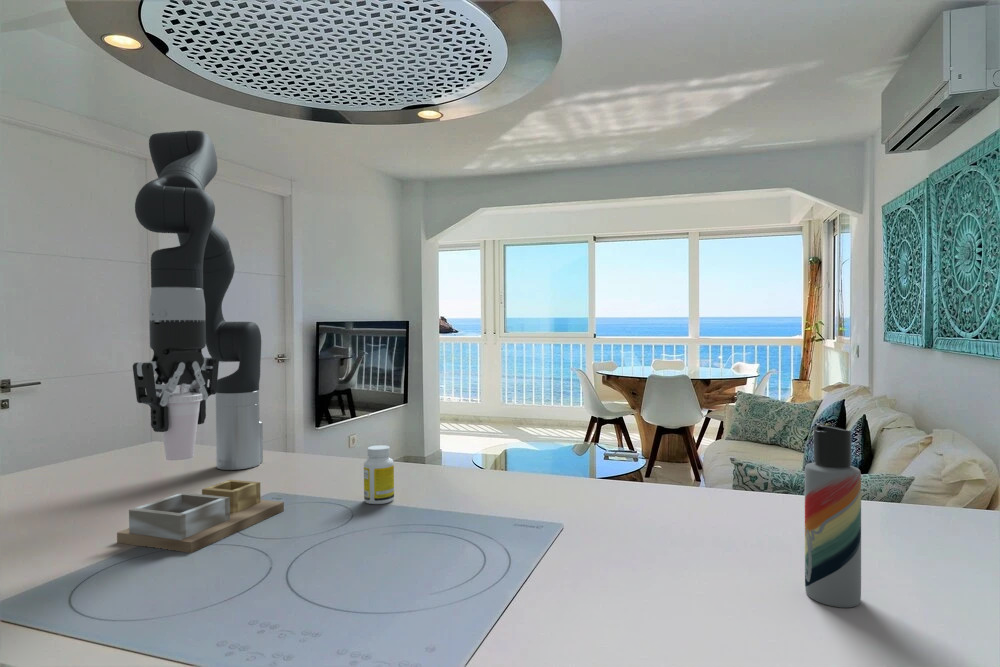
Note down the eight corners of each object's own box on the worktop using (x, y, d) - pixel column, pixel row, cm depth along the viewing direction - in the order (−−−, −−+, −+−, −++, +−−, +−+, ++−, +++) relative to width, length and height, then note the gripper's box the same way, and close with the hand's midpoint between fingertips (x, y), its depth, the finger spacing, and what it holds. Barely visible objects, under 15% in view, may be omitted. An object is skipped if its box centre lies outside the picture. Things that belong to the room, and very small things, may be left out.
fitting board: (219, 503, 107) (218, 476, 107) (283, 510, 103) (283, 481, 103) (117, 542, 88) (116, 509, 88) (191, 552, 84) (190, 517, 84)
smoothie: (211, 453, 94) (211, 365, 93) (186, 462, 87) (185, 367, 87) (173, 453, 94) (172, 365, 94) (145, 462, 88) (144, 367, 88)
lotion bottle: (794, 587, 71) (794, 421, 71) (839, 585, 72) (839, 420, 72) (824, 609, 66) (824, 430, 65) (873, 607, 66) (872, 428, 66)
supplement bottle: (399, 497, 110) (399, 445, 110) (384, 506, 105) (384, 451, 105) (374, 495, 112) (373, 443, 112) (358, 503, 107) (357, 449, 107)
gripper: (196, 318, 98) (197, 419, 99) (115, 318, 85) (117, 434, 85) (232, 318, 96) (234, 421, 96) (156, 317, 82) (158, 437, 83)
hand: (179, 427), depth 91 cm, fingers closed on smoothie, 6 cm apart
